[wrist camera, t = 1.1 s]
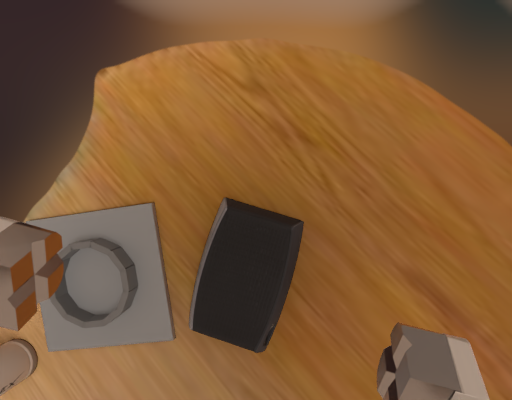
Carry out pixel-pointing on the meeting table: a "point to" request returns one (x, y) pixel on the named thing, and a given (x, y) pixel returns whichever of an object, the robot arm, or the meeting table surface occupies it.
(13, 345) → the travel mug
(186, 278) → the meeting table surface
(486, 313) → the meeting table surface
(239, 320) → the external hard drive
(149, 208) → the mug holder
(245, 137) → the meeting table surface
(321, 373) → the meeting table surface
